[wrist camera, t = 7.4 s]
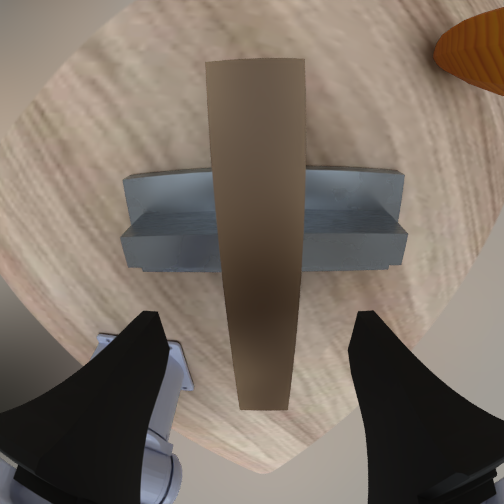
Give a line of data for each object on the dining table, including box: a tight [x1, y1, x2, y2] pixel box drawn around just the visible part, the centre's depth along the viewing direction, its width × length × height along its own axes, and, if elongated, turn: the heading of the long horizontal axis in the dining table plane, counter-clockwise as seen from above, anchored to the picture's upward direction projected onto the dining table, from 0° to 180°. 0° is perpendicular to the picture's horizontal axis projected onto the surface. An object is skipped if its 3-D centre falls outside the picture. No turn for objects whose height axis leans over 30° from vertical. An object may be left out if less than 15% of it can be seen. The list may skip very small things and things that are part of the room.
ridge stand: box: [120, 166, 408, 272], centre depth 17 cm, size 18×7×5 cm, turn 92°
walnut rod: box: [205, 58, 306, 410], centre depth 13 cm, size 3×18×4 cm, turn 2°
